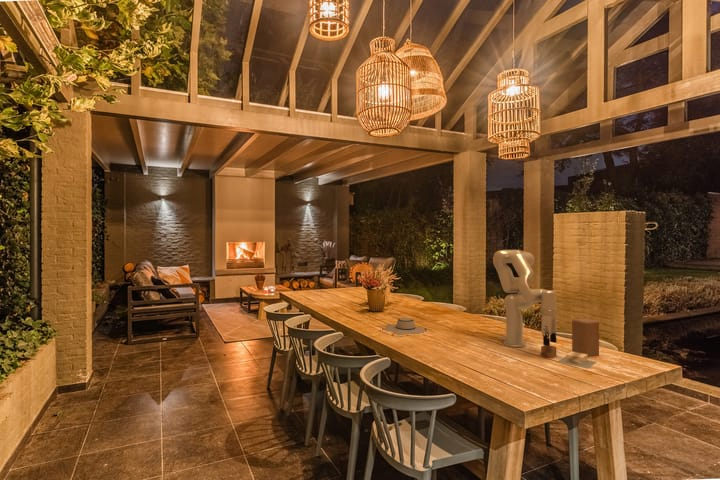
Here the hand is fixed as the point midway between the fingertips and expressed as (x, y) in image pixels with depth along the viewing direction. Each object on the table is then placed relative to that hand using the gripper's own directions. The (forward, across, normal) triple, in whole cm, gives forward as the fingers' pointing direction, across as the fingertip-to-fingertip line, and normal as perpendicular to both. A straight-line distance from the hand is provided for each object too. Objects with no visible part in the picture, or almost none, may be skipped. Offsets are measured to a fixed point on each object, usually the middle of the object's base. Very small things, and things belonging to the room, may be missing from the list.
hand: (550, 343), depth 220 cm
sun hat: (+6, +5, -99) cm, 99 cm away
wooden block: (+8, -20, +12) cm, 24 cm away
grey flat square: (+8, 0, +13) cm, 16 cm away
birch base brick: (+8, 0, +13) cm, 15 cm away
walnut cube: (+8, 0, -1) cm, 8 cm away
